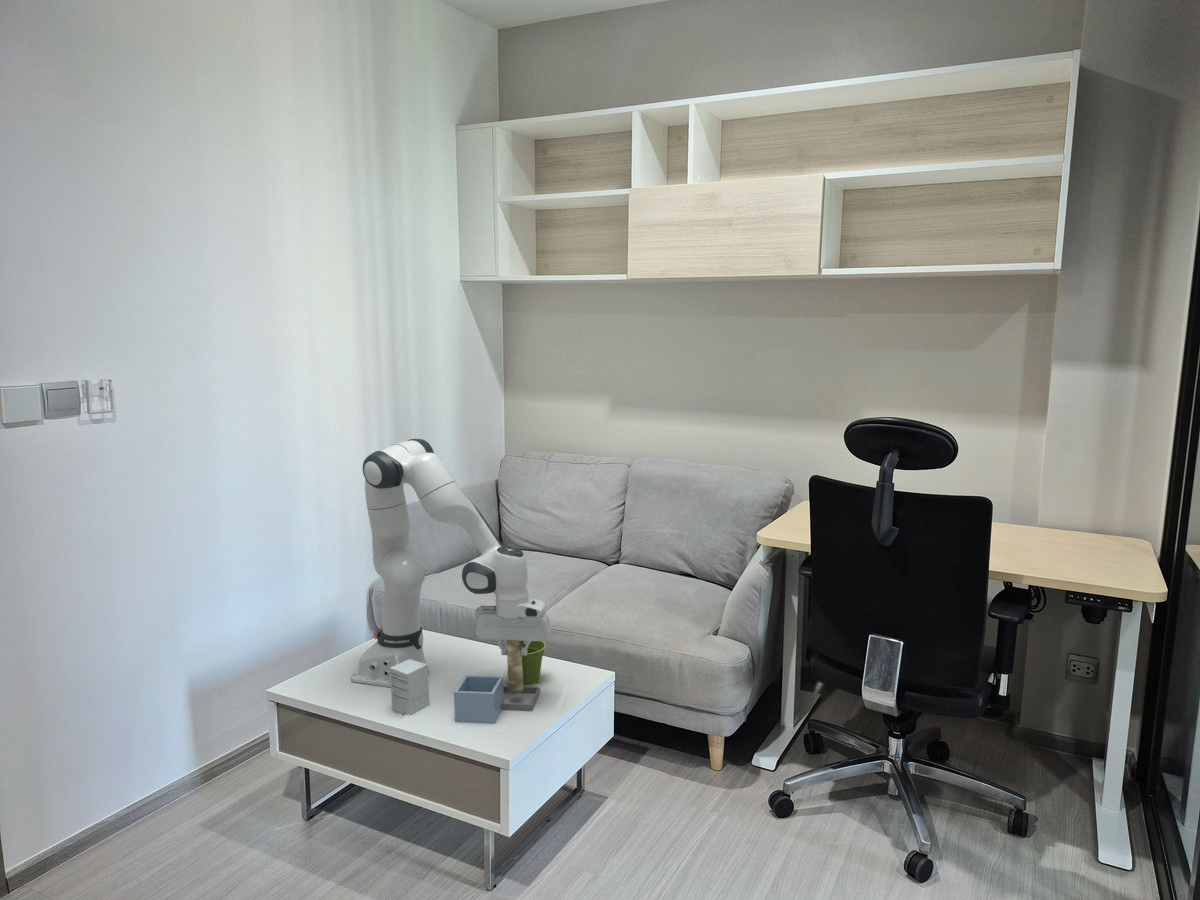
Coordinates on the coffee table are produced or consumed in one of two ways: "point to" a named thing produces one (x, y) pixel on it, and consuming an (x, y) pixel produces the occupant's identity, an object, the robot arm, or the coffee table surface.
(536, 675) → the plant pot
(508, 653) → the dowel
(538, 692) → the tray
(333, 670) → the coffee table surface
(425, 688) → the supplement box
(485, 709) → the blue storage bin
